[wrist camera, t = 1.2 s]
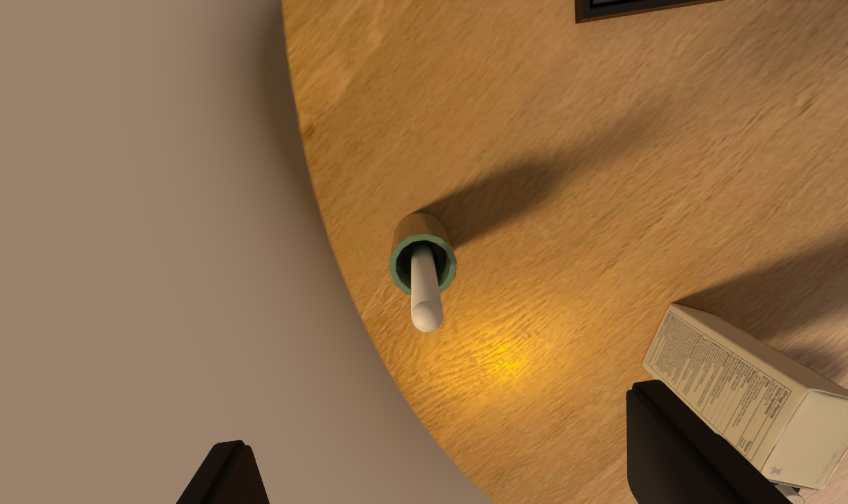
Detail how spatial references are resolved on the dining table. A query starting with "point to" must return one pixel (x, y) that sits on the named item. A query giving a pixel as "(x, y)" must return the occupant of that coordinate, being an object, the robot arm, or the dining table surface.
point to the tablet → (626, 8)
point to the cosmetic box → (753, 396)
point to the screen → (601, 1)
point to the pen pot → (417, 230)
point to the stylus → (424, 288)
